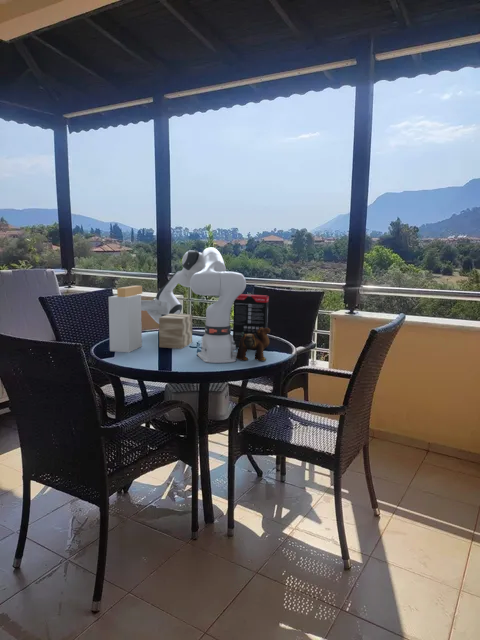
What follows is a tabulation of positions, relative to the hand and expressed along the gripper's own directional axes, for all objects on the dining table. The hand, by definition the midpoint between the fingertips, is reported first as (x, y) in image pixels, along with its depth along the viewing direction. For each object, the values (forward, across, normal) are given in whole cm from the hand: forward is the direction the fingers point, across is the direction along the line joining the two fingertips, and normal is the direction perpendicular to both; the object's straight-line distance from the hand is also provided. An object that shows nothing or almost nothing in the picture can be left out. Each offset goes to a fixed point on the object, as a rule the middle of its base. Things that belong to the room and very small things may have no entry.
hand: (146, 299), depth 235 cm
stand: (+10, 0, +31) cm, 33 cm away
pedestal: (-4, +20, +23) cm, 31 cm away
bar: (+18, 0, +6) cm, 19 cm away
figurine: (+13, +64, +33) cm, 73 cm away
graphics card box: (-8, +58, +21) cm, 62 cm away
